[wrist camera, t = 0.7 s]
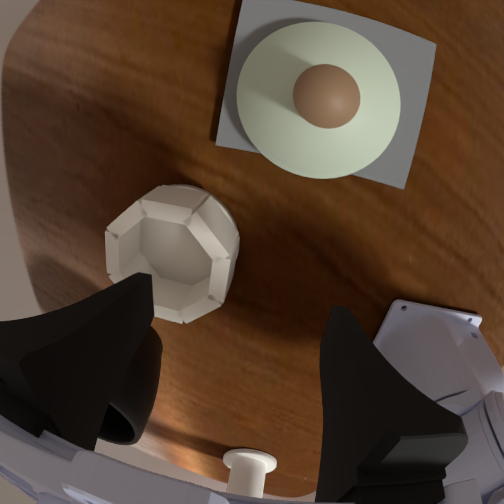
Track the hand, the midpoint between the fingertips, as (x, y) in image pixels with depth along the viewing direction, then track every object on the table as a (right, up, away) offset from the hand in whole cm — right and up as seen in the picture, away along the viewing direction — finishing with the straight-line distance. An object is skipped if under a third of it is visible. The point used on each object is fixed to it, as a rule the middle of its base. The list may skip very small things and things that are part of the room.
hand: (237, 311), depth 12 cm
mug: (-11, -7, +16) cm, 21 cm away
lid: (+4, +11, +4) cm, 13 cm away
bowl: (-4, +3, +10) cm, 11 cm away
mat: (+5, +12, +4) cm, 14 cm away
